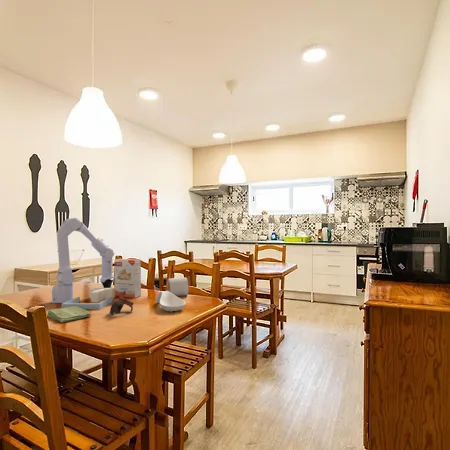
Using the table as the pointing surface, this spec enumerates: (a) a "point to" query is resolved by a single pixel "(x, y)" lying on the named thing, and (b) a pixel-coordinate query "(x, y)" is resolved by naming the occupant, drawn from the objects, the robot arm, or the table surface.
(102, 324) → the table surface
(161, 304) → the spoon rest
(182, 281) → the toilet paper
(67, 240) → the robot arm
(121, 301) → the brown arched piece
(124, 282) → the cracker box
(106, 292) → the T-block
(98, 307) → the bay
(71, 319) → the washcloth
